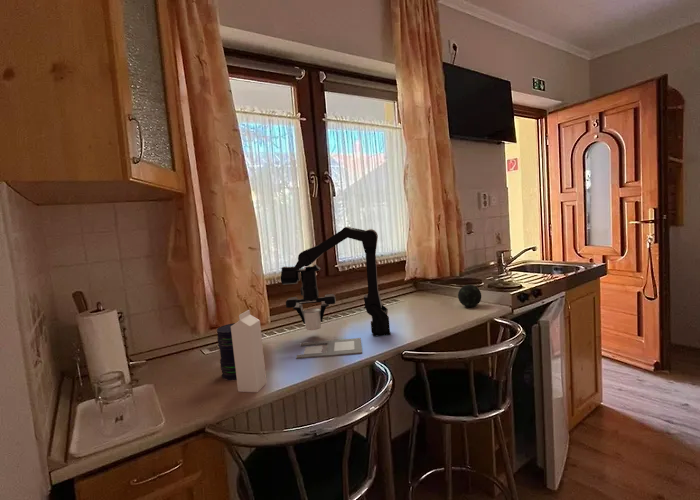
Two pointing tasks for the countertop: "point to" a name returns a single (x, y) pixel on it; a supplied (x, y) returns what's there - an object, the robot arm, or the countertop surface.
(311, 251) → the robot arm
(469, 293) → the decorative stone
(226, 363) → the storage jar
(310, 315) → the shot glass
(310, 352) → the label board
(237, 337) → the milk
